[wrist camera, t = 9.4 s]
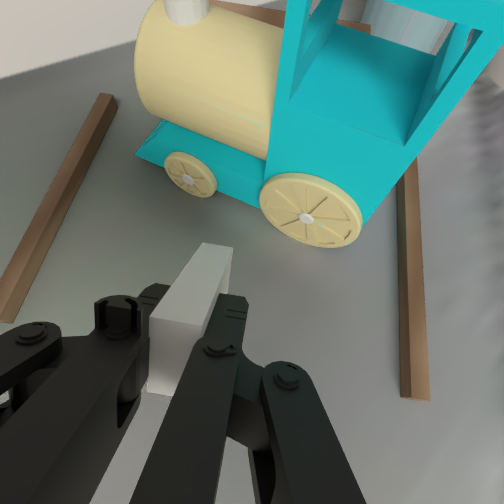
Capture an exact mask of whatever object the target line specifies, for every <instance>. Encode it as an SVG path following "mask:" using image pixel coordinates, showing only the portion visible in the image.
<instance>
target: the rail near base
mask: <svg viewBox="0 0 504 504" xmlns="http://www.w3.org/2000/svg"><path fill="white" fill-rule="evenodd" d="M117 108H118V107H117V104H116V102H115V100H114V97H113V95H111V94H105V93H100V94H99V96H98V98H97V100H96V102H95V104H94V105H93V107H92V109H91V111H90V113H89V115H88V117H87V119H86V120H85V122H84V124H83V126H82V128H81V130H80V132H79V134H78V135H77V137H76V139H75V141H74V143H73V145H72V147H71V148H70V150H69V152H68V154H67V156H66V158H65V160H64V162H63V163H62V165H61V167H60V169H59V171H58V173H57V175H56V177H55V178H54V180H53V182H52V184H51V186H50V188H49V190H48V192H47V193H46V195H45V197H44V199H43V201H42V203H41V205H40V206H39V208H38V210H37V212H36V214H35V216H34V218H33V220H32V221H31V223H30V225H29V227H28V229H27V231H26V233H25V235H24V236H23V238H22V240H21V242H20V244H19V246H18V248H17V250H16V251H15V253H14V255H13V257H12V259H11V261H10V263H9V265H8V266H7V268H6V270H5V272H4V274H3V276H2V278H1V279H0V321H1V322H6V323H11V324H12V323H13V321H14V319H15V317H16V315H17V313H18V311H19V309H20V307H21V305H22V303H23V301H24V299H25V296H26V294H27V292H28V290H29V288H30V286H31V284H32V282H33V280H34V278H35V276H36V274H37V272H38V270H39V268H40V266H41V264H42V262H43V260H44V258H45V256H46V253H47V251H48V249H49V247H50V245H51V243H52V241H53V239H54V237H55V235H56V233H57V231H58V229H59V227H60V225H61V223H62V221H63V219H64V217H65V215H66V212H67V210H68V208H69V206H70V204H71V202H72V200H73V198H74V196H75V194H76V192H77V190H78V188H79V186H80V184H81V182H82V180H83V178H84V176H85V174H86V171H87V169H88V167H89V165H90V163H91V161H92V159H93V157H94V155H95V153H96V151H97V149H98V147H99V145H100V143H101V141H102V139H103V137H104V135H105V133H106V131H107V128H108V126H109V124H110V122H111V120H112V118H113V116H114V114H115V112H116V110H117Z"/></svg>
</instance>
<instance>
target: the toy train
mask: <svg viewBox="0 0 504 504" xmlns="http://www.w3.org/2000/svg"><path fill="white" fill-rule="evenodd" d="M342 1H343V0H321V1H320V3H319V4H318V6H317V7H316V9H315V10H314V12H313V13H312V15H311V16H310V18H309V13H310V8H311V3H312V0H287V8H286V15H285V23H284V29H282V28H279V27H276V26H273V25H270V24H267V23H264V22H261V21H259V20H256V19H253V18H250V17H247V16H244V15H241V14H238V13H235V12H232V11H229V10H226V9H223V8H220V7H217V6H214V5H211V4H209V0H155V1H154V2H153V3H152V5H151V6H150V7H149V9H148V11H147V12H146V14H145V16H144V18H143V20H142V22H141V25H140V28H139V31H138V35H137V40H136V45H135V52H134V76H135V83H136V88H137V91H138V94H139V97H140V99H141V101H142V103H143V105H144V106H145V108H146V109H147V110H148V111H149V112H150V113H151V114H152V115H154V116H157V117H159V118H162V119H163V120H162V121H161V122H160V123H159V125H158V126H157V127H156V128H155V129H154V131H153V132H152V133H151V134H150V136H149V137H148V138H147V139H146V140H145V142H144V143H143V144H142V145H141V147H140V148H139V149H138V150H137V151H136V153H135V154H134V155H135V156H138V157H140V158H142V159H145V160H147V161H149V162H152V163H154V164H156V165H159V166H161V167H163V168H165V170H166V172H167V174H168V175H169V177H170V178H171V179H172V181H173V182H174V183H175V184H176V185H178V186H179V187H180V188H181V189H183V190H184V191H186V192H188V193H190V194H192V195H195V196H197V197H202V198H207V197H210V196H212V195H213V194H214V192H215V191H216V190H217V191H219V192H222V193H224V194H226V195H229V196H231V197H233V198H236V199H238V200H240V201H243V202H245V203H247V204H250V205H252V206H254V207H257V208H259V209H261V210H262V212H263V213H264V215H265V216H266V218H267V219H268V220H269V221H270V222H271V223H272V224H273V225H274V226H275V227H276V228H277V229H278V230H280V231H281V232H283V233H284V234H286V235H287V236H289V237H291V238H293V239H295V240H298V241H300V242H302V243H305V244H308V245H312V246H317V247H324V248H336V247H342V246H347V247H348V245H349V244H350V243H351V242H353V241H354V240H355V239H356V238H357V237H358V235H359V233H360V231H361V228H362V227H363V226H364V224H365V223H366V222H367V220H368V219H369V218H370V216H371V215H372V214H373V213H374V211H375V210H376V209H377V207H378V206H379V205H380V203H381V202H382V201H383V200H384V198H385V197H386V196H387V194H388V193H389V192H390V190H391V189H392V188H393V186H394V185H395V184H396V183H397V181H398V180H399V179H400V177H401V176H402V175H403V173H404V172H405V171H406V169H407V168H408V167H409V166H410V164H411V163H412V162H413V160H414V159H415V158H416V156H417V155H418V154H419V153H420V151H421V150H422V149H423V147H424V146H425V145H426V143H427V142H428V141H429V139H430V138H431V137H432V136H433V134H434V133H435V132H436V130H437V129H438V128H439V126H440V125H441V124H442V122H443V121H444V120H445V119H446V117H447V116H448V115H449V113H450V112H451V111H452V109H453V108H454V107H455V106H456V104H457V103H458V102H459V100H460V99H461V98H462V96H463V95H464V94H465V92H466V91H467V90H468V89H469V87H470V86H471V85H472V83H473V82H474V81H475V79H476V78H477V77H478V75H479V74H480V73H481V72H482V70H483V69H484V68H485V66H486V65H487V64H488V62H489V61H490V60H491V59H492V57H493V56H494V55H495V53H496V52H497V51H498V49H499V48H500V47H501V45H502V44H503V43H504V0H384V1H388V2H391V3H394V4H397V5H400V6H404V7H407V8H410V9H413V10H417V11H420V12H423V13H426V14H429V15H433V16H436V17H439V18H442V19H445V20H449V21H452V22H455V24H454V26H453V28H452V29H451V31H450V33H449V34H448V36H447V38H446V39H445V41H444V43H443V45H442V46H441V48H440V50H439V51H438V53H437V55H436V56H434V55H431V54H428V53H425V52H422V51H419V50H416V49H413V48H410V47H407V46H404V45H401V44H398V43H395V42H392V41H389V40H386V39H383V38H380V37H377V36H374V35H371V34H367V33H364V32H361V31H358V30H355V29H352V28H349V27H346V26H343V25H340V24H337V20H338V16H339V12H340V8H341V5H342ZM472 28H474V29H475V30H474V33H473V37H472V40H471V43H470V44H469V46H468V47H467V49H466V50H465V52H464V49H465V45H466V42H467V38H468V35H469V32H470V31H471V29H472ZM463 52H464V53H463Z"/></svg>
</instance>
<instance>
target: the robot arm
mask: <svg viewBox="0 0 504 504" xmlns="http://www.w3.org/2000/svg"><path fill="white" fill-rule="evenodd" d="M232 255H233V247H227V246H221V245H215V244H209V243H203V242H202V244H201V245H200V246H199V248H198V249H197V251H196V252H195V253H194V255H193V256H192V258H191V259H190V260H189V262H188V263H187V265H186V266H185V267H184V269H183V270H182V272H181V273H180V274H179V276H178V277H177V279H176V280H175V281H174V283H173V284H172V286H170V285H164V284H158V283H155V284H153V285H151V286H149V287H147V288H145V289H144V290H143V291H142V292H141V294H140V295H139V297H137V298H135V297H131V296H127V295H115V296H108V297H105V298H102V299H100V300H98V301H97V302H95V303H94V311H95V329H94V330H93V331H92V332H91V333H90V334H89V335H87V336H72V337H62V335H61V330H60V327H59V326H57V325H56V324H54V323H49V322H32V323H28V324H23V325H21V326H18V327H16V328H13V329H11V330H9V331H7V332H5V333H3V334H2V335H0V395H2V394H3V393H5V392H6V391H7V390H8V393H9V400H7V401H6V402H4V403H2V404H0V504H89V503H90V501H91V499H92V497H93V495H94V493H95V491H96V489H97V487H98V485H99V483H100V481H101V479H102V478H103V476H104V474H105V472H106V470H107V468H108V466H109V464H110V462H111V460H112V458H113V456H114V454H115V452H116V450H117V448H118V446H119V444H120V442H121V440H122V438H123V437H124V435H125V433H126V431H127V429H128V427H129V425H130V423H131V421H132V419H133V417H134V415H135V413H136V411H137V409H138V407H139V404H140V401H141V389H142V387H143V385H144V384H145V382H146V380H147V392H150V393H156V394H162V395H167V396H173V397H172V400H171V402H170V405H169V407H168V410H167V412H166V415H165V417H164V419H163V422H162V424H161V427H160V429H159V432H158V434H157V437H156V439H155V441H154V444H153V446H152V449H151V451H150V454H149V456H148V459H147V461H146V463H145V466H144V468H143V471H142V473H141V476H140V478H139V481H138V483H137V485H136V488H135V490H134V493H133V495H132V498H131V500H130V503H129V504H215V499H216V493H217V488H218V482H219V476H220V470H221V465H222V459H223V453H224V448H225V442H226V437H227V436H228V437H230V438H232V439H233V440H235V441H237V442H239V443H241V444H243V445H245V446H246V447H248V456H249V463H250V470H251V476H252V483H253V490H254V496H255V503H256V504H366V502H365V499H364V497H363V495H362V492H361V490H360V488H359V486H358V483H357V481H356V479H355V477H354V474H353V472H352V470H351V468H350V465H349V463H348V461H347V459H346V456H345V454H344V452H343V450H342V447H341V445H340V443H339V441H338V438H337V436H336V434H335V432H334V429H333V427H332V425H331V423H330V420H329V418H328V416H327V414H326V411H325V409H324V407H323V405H322V402H321V400H320V398H319V396H318V393H317V391H316V389H315V387H314V384H313V382H312V380H311V378H310V376H309V375H308V374H307V372H306V371H305V370H303V369H302V368H301V367H299V366H298V365H295V364H293V363H290V362H284V361H278V362H272V363H270V364H268V365H267V366H266V367H265V368H263V367H261V366H259V365H257V364H255V363H253V362H251V361H250V360H249V359H248V358H247V357H246V356H245V355H244V353H243V351H242V343H243V337H244V331H245V325H246V318H247V312H248V306H249V304H248V302H247V301H246V299H245V297H241V296H235V295H229V294H227V293H228V285H229V277H230V270H231V262H232Z"/></svg>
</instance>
